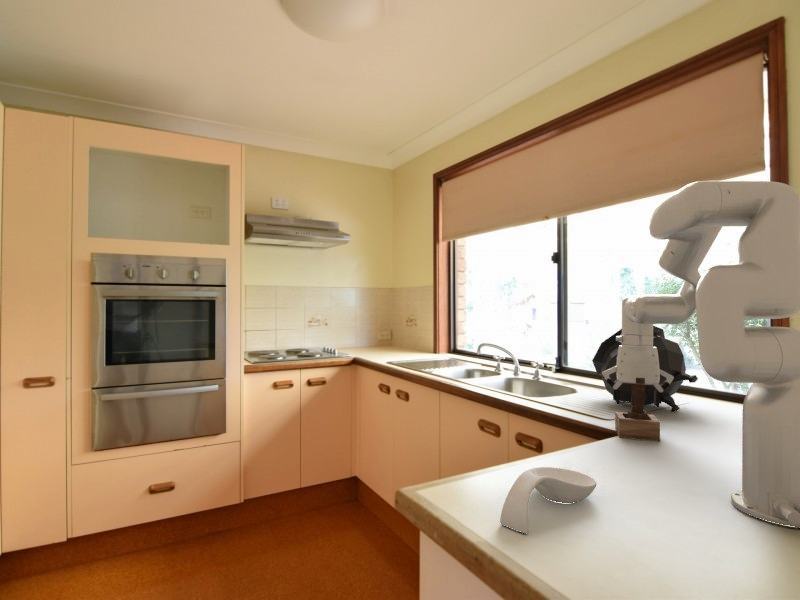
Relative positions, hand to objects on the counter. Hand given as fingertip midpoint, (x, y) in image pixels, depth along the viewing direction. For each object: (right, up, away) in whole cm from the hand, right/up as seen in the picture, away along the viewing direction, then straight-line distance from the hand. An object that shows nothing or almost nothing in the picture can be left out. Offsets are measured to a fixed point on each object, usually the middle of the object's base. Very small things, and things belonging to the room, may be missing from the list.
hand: (636, 404), depth 121 cm
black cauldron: (+20, -9, +32) cm, 39 cm away
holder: (0, -8, 0) cm, 8 cm away
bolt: (0, -7, 0) cm, 7 cm away
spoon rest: (-38, -8, -43) cm, 59 cm away
